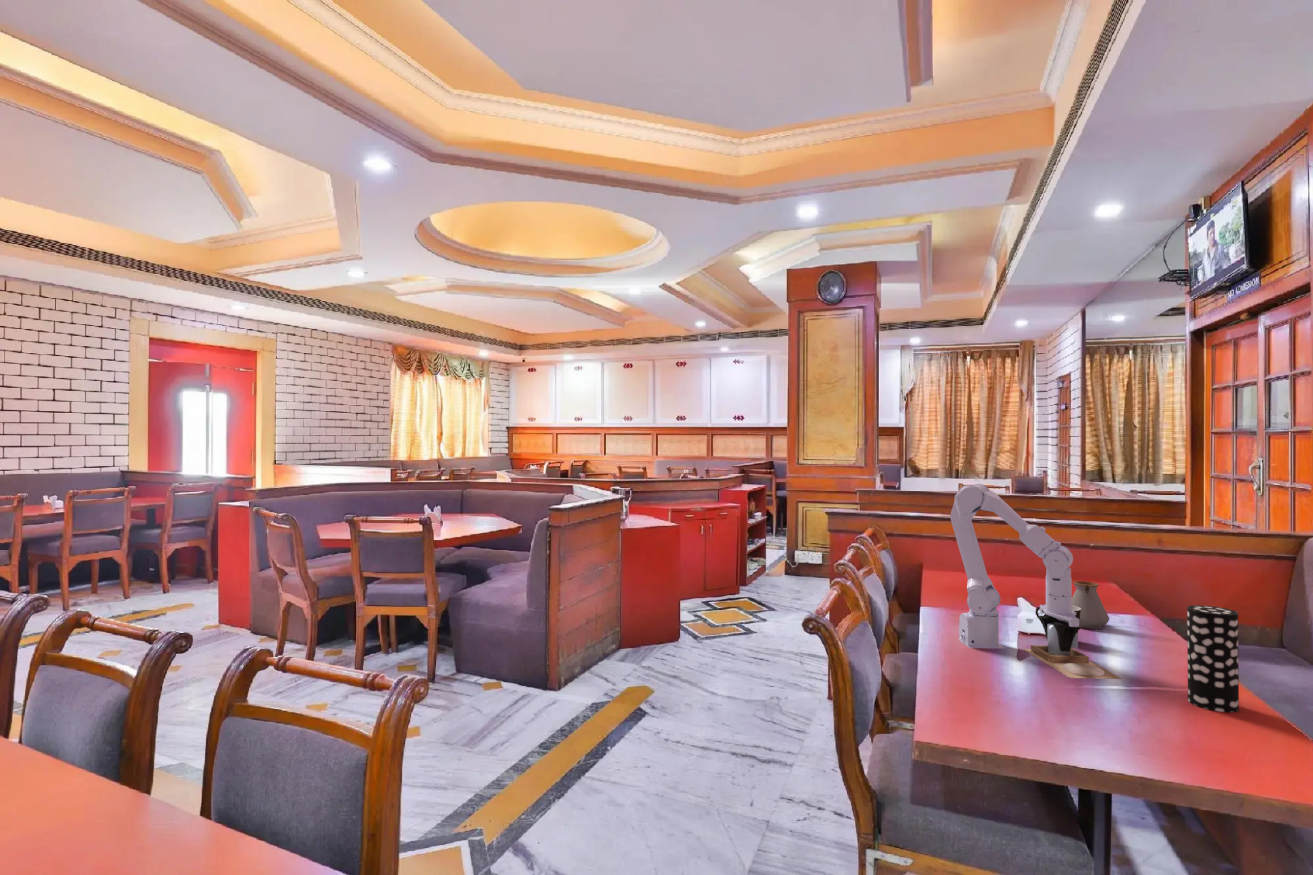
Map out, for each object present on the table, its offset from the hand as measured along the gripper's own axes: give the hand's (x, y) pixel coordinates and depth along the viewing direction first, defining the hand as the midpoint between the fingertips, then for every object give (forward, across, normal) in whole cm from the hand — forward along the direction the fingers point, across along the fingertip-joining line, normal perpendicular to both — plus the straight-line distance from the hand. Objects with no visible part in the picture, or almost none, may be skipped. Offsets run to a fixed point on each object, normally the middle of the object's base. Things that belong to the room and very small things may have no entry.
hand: (1058, 647), depth 171 cm
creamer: (+2, 0, 0) cm, 2 cm away
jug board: (+3, -4, 0) cm, 5 cm away
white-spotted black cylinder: (+3, -29, -16) cm, 33 cm away
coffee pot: (+3, +29, -24) cm, 38 cm away
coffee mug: (+3, +16, -9) cm, 19 cm away
